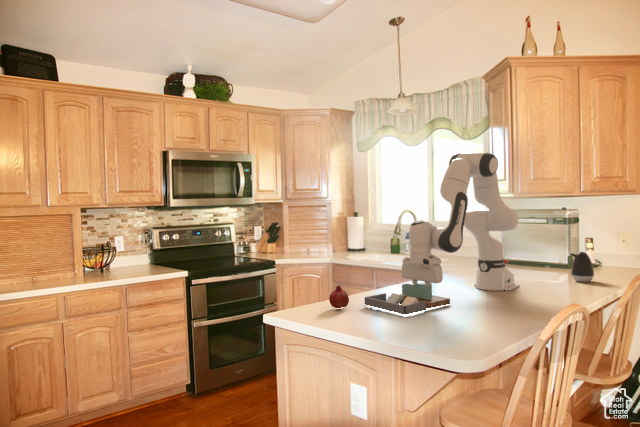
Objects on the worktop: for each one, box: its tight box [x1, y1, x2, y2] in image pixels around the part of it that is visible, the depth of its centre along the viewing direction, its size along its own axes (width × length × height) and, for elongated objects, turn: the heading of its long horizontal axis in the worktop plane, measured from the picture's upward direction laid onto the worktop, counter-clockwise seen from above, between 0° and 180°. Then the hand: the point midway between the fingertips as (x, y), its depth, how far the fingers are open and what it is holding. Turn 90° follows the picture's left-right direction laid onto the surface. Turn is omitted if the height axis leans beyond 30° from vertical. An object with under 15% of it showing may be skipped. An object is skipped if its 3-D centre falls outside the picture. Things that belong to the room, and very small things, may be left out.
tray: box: [364, 292, 426, 314], centre depth 179 cm, size 12×23×4 cm, turn 35°
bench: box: [387, 293, 451, 308], centre depth 187 cm, size 16×20×3 cm
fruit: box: [328, 285, 350, 309], centre depth 183 cm, size 8×8×10 cm
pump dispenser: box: [569, 251, 595, 283], centre depth 226 cm, size 10×10×15 cm
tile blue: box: [386, 293, 403, 304], centre depth 185 cm, size 5×5×2 cm
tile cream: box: [401, 296, 419, 306], centre depth 178 cm, size 5×5×2 cm
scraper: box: [401, 281, 433, 300], centre depth 188 cm, size 9×14×5 cm, turn 35°
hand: (421, 291), depth 188 cm, fingers closed on scraper, 3 cm apart
